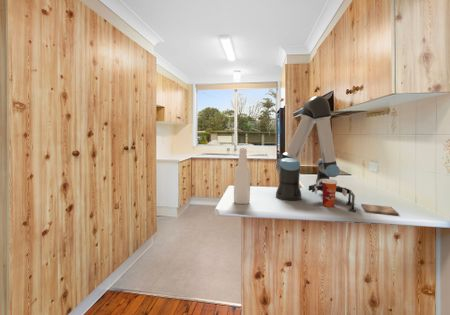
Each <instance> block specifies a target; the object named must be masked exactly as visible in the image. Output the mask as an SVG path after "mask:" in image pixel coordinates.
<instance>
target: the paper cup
mask: <svg viewBox="0 0 450 315" xmlns="http://www.w3.org/2000/svg"><path fill="white" fill-rule="evenodd" d="M322 183H323V192H322V206H323V207H325V208H334V207H335V201H336V200H335V199H336V193H337V192H336V186H338V182H337V180H336V179H332V178H329V179H323V181H322Z"/></svg>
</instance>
